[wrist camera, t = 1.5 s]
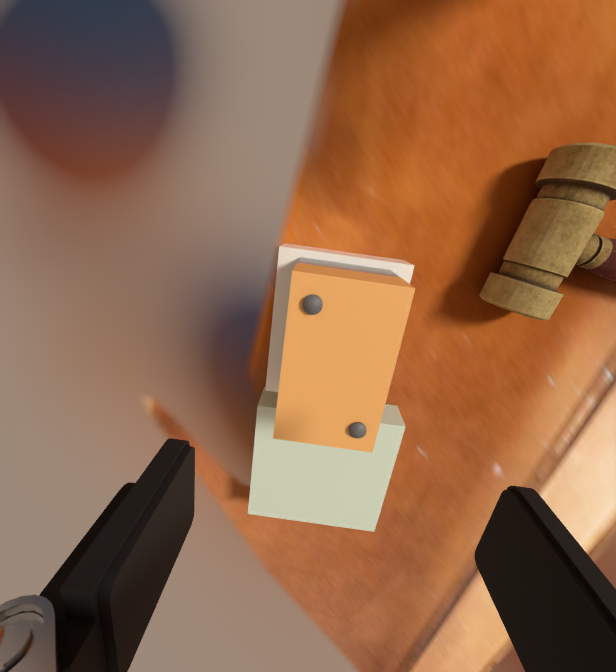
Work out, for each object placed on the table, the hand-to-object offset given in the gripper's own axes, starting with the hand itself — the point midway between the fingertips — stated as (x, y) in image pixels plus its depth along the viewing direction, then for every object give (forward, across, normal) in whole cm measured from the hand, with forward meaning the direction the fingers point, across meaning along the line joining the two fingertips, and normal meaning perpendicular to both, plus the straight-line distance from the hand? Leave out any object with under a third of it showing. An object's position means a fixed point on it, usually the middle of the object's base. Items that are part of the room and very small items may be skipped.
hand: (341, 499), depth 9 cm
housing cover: (+11, 0, 0) cm, 11 cm away
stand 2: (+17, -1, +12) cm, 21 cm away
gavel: (+17, -21, -8) cm, 29 cm away
